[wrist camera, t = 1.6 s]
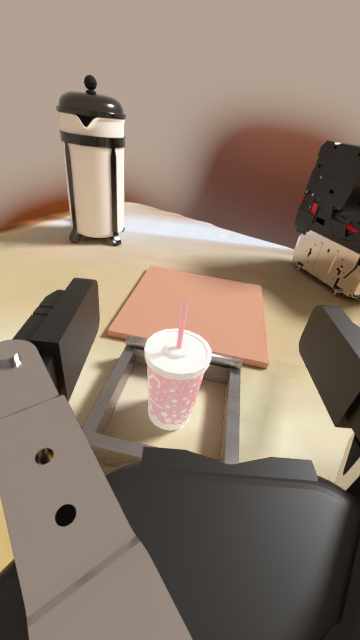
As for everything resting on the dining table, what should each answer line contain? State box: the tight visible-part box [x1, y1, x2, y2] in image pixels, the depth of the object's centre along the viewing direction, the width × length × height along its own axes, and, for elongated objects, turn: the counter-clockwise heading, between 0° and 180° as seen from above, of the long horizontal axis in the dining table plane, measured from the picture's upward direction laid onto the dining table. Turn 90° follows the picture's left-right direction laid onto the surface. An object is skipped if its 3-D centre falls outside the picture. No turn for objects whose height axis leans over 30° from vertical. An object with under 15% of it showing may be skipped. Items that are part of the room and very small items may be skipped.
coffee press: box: [56, 75, 126, 246], centre depth 62 cm, size 17×16×30 cm
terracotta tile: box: [108, 266, 269, 369], centre depth 48 cm, size 22×22×1 cm
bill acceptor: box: [292, 141, 360, 300], centre depth 57 cm, size 10×23×25 cm, turn 22°
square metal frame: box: [82, 335, 243, 467], centre depth 30 cm, size 14×14×4 cm
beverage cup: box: [144, 300, 212, 431], centre depth 27 cm, size 6×6×14 cm
